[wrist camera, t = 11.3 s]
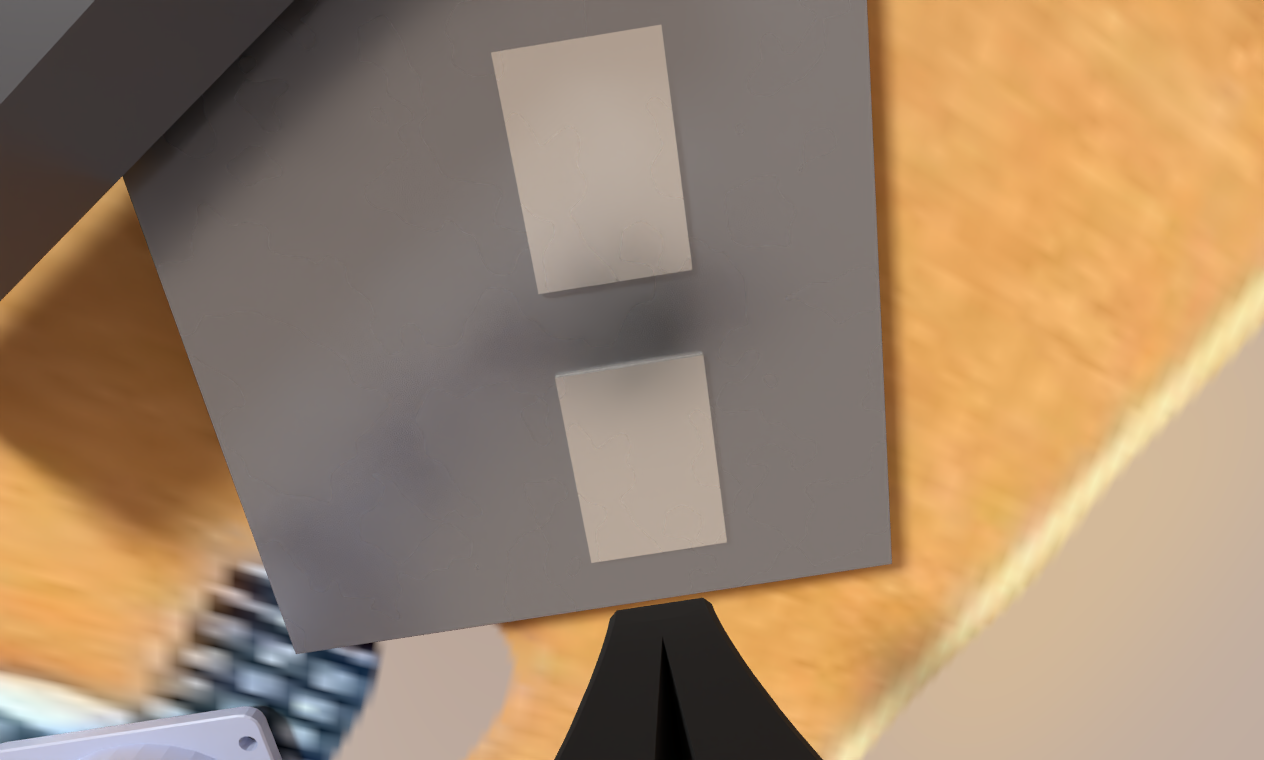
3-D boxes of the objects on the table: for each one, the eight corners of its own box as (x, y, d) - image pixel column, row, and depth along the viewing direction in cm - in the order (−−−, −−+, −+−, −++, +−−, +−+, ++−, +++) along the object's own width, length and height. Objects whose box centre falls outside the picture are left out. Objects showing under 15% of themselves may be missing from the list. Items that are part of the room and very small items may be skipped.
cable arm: (438, -323, 13) (293, -744, 7) (545, -173, 13) (495, -438, 8) (-165, 330, 16) (-612, 419, 10) (-52, 421, 16) (-407, 554, 11)
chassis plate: (877, 543, 19) (895, 568, 17) (311, 629, 19) (292, 658, 18) (843, -129, 14) (863, -156, 13) (90, -3, 14) (44, -19, 13)
